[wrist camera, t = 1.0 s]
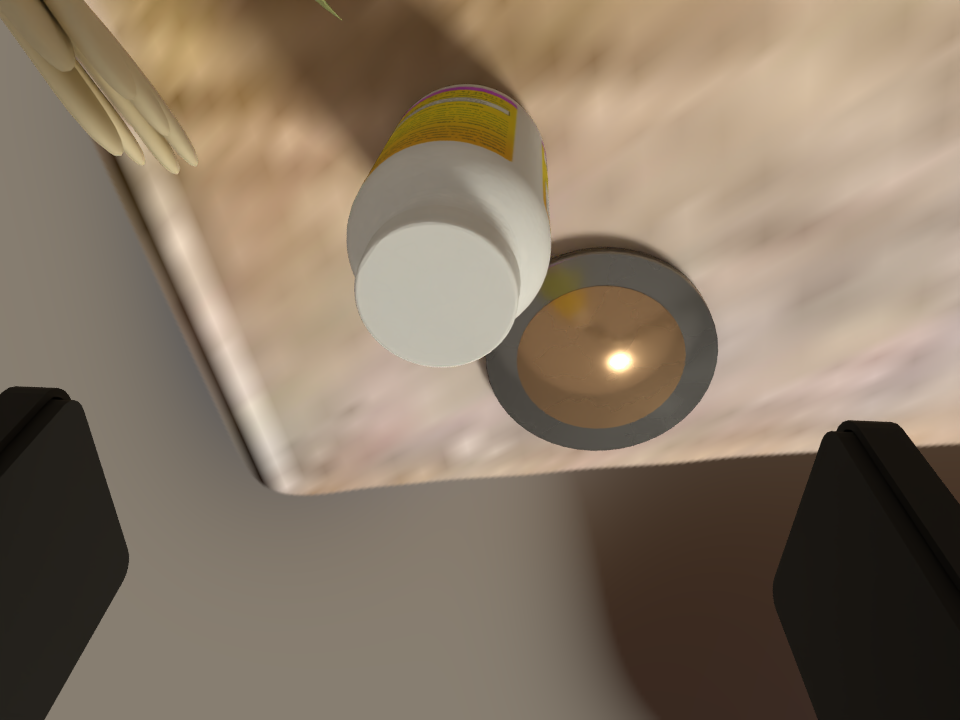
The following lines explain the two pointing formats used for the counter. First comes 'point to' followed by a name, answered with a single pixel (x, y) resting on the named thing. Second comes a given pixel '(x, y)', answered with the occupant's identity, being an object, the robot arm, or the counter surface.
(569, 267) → the round coaster
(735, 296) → the counter surface
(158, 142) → the flower in vase
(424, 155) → the supplement bottle
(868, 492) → the robot arm
